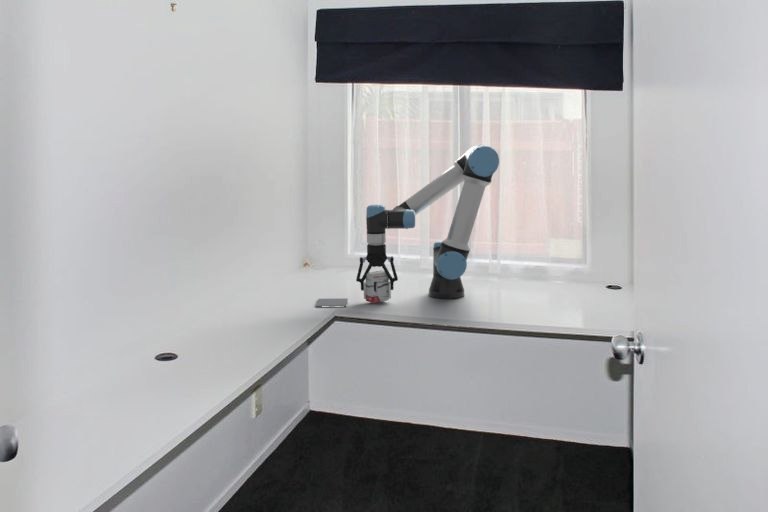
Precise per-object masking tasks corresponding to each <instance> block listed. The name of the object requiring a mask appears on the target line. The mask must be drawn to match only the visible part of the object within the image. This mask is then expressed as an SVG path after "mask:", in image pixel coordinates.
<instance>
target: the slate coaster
mask: <svg viewBox="0 0 768 512" xmlns="http://www.w3.org/2000/svg"><path fill="white" fill-rule="evenodd" d="M348 300H349V298H318V300H317V303H316V305H315V308H323V307H322V306H344V307H343V308H347V306H346V305H348Z"/></svg>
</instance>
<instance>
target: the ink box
mask: <svg viewBox="0 0 768 512" xmlns="http://www.w3.org/2000/svg"><path fill="white" fill-rule="evenodd" d="M389 281H390V280H389V278H388V276H387V275H386V273H385V271H384V269H383V270H375V271H369V273H367V277H366V279H365V282H366V299H365V301H366V302H369V303H371V304H375V303H382V302H385V301H389V300H390V299H389Z"/></svg>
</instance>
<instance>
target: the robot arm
mask: <svg viewBox="0 0 768 512" xmlns="http://www.w3.org/2000/svg"><path fill="white" fill-rule="evenodd" d="M499 165H500V157H499V154H498V152H497V151H496V150H495V149H494V148H493V147H492V146H489V145H487V144H486V145H485V144H480V145H474V146H472V147H470V148H469V149H468V150H467V151H466V152H465V153H464V154H463V155H462V156H460V157H459V158H458V159H457V160H455V161H454V164H453V166H451V167H449V168H448V169H447V170H445V171H444V172H443V173H442V174H440V175H439V176H438V177H436V178H435V179H433V180H432V181H430V182H429V183H428V184H426V185H425V186H423V188H421V189H419V190H418V191H417V192H415V193H414V194H413V195H411V196H410V197H408V198H407V199H406V200H404V201H403V202H402V203H400V204H399V205H396V206H395V207H393V209H386V206H385V205H383V204H370V205H368V206H367V207H366V210H365V211H366V214H365V216H366V217H365V220H366V243H367V245H366V250H367V251H366V256H360V257H359V267H358V272H357V275H356V279H355V280H356V282H358V283H360V290H361V291H363V299H364V300H366V277H367V273H369V272H371V269H372V267H373V268H375V267H377V268H381V267H382V269H383V271H385V273H386V275H387V276H388V278H389V300H390V299H392V291H394V283H395V282H397V281H398V280H399V277H398V274H397V269H396V267H395V263H394V256H387V250H386V249H387V245H386V242H387V241H386V235H387V234H386V230H391V229H396V230H397V229H398V230H399V229H403V230H404V229H406V230H408V229H414V228H415V227H416V216H417V215H418V214H420V213H421V212H422V211H424V210H425V209H427V208H429V206H431V205H432V204H434V203H436V201H438V200H439V199H441V198H442V197H443V196H445V195H446V194H448V193H449V192H450V191H451V190H453V189H455V188H456V187H457V186H459V185H461V183H463V185H462V188H461V191H460V195H459V197H458V198H459V199H458V200H457V204H456V207H455V211H454V214H453V217H452V220H451V223H450V227H449V231H448V234H447V237H446V238H445V239H443V240H442V241H435V242H434V243H433V247H432V250H433V256H432V258H433V260H432V261H433V262H432V265H433V267H432V268H433V269H432V270H433V271H432V273H433V274H432V276H433V277H432V279H431V282H430V285H429V288H428V295H429V297H432V298H437V299H446V300H449V299H458V298H462V297H464V296H465V289H464V285H463V282H462V279H461V277H462V276H463V275H464V273H466V270H467V264H468V263H467V260H468V257H469V254H470V251H471V249H470V247H469V241H470V238H471V234H472V232H473V228H474V226H475V225H474V224H475V221H476V219H477V216H478V212H479V209H480V206H481V203H482V200H483V197H484V193H485V189H486V187H487V186H489V185H490V184H491V183H492V181H493V178H494V174H495V172H497V170H498V169H499ZM387 260H388V263H389V264H390V267H391V271H392V274H393V276H392V274H391V273H390V270H389V269H388V268H387V266H386V264H385V263H386V261H387ZM366 261H367V263H368V266H367V268H366V270H365V271H364V273H363V275H362V277H361V274H362V271H363V266H364V264H365V263H366Z"/></svg>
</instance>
